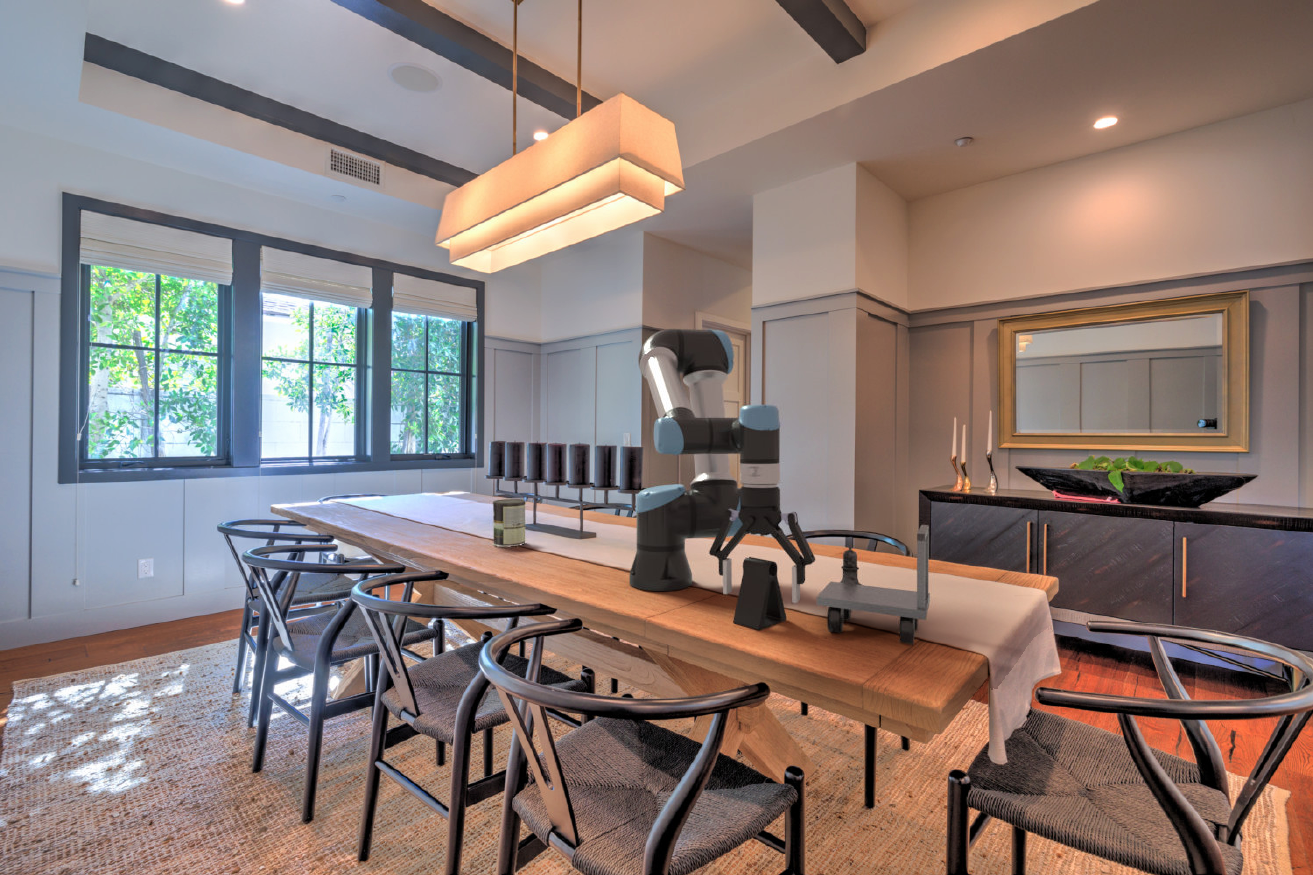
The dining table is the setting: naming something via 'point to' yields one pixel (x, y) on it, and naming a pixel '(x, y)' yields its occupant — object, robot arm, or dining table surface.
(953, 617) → the dining table surface
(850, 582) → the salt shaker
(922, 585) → the trolley
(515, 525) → the coffee can
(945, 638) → the dining table surface
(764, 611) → the black a-frame stand
